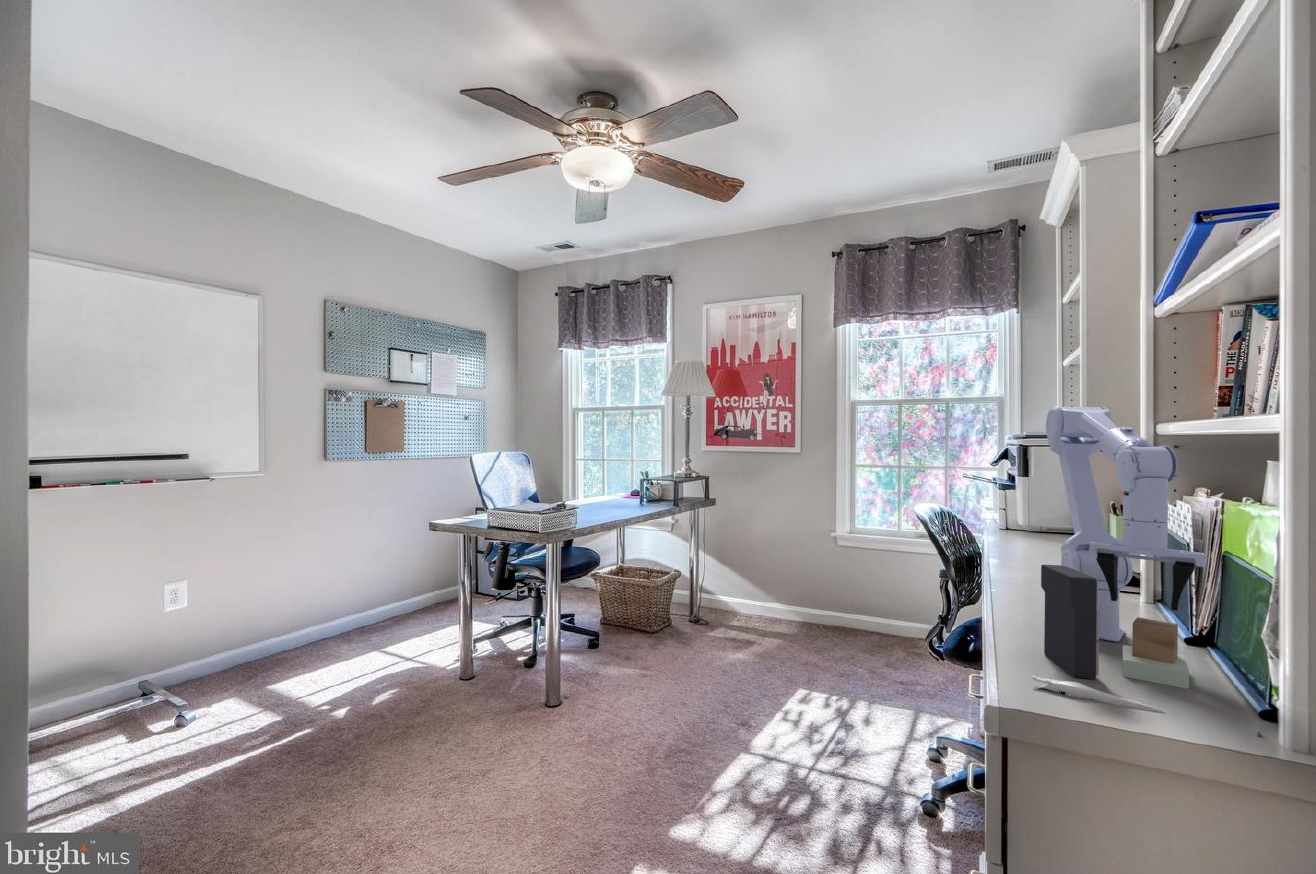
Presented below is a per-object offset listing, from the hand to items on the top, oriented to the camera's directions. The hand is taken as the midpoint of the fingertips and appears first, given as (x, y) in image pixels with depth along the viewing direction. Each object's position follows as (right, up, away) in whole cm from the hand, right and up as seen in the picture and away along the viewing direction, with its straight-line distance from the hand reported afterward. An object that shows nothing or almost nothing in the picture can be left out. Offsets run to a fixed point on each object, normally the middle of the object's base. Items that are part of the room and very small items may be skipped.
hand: (1143, 604), depth 100 cm
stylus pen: (-19, -9, -16) cm, 26 cm away
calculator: (-14, -9, -3) cm, 17 cm away
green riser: (-3, -10, -5) cm, 11 cm away
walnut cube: (-2, -7, -5) cm, 8 cm away
